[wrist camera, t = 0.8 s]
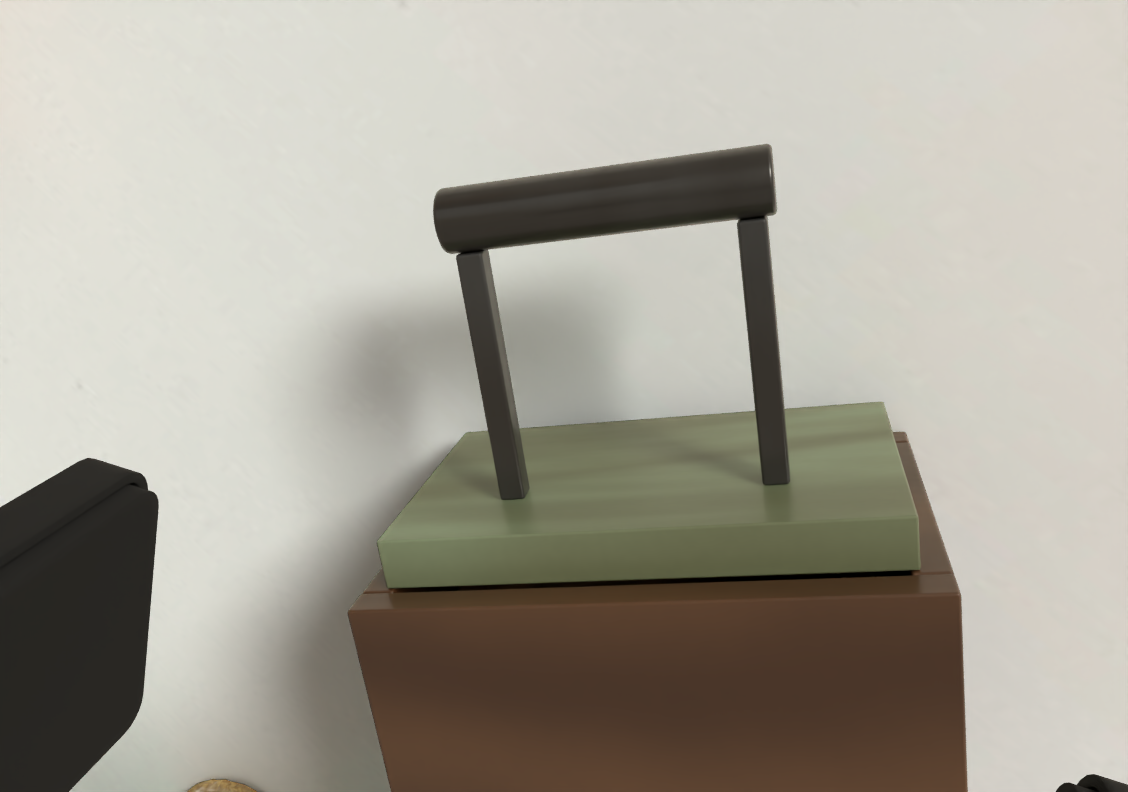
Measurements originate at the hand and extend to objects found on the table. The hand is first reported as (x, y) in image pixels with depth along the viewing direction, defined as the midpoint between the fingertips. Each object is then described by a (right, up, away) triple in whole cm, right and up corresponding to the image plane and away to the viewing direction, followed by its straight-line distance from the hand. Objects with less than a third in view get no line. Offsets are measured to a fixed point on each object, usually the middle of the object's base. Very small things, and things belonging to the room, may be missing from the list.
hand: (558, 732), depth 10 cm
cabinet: (+4, -5, +20) cm, 21 cm away
